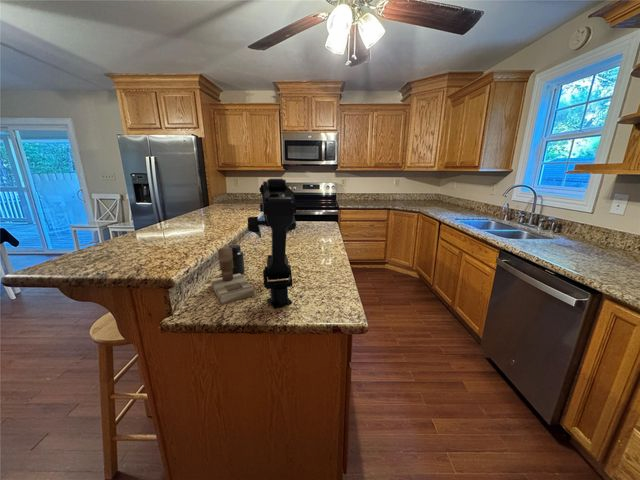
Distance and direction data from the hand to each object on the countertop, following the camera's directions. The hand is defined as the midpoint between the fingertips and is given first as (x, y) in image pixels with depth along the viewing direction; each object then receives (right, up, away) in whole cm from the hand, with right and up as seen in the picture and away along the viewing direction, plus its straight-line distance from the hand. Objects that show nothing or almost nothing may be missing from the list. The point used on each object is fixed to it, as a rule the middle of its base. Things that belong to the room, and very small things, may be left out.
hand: (271, 236), depth 106 cm
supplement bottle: (-15, -16, +1) cm, 22 cm away
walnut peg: (-15, -16, -11) cm, 25 cm away
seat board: (-12, -20, -14) cm, 27 cm away
